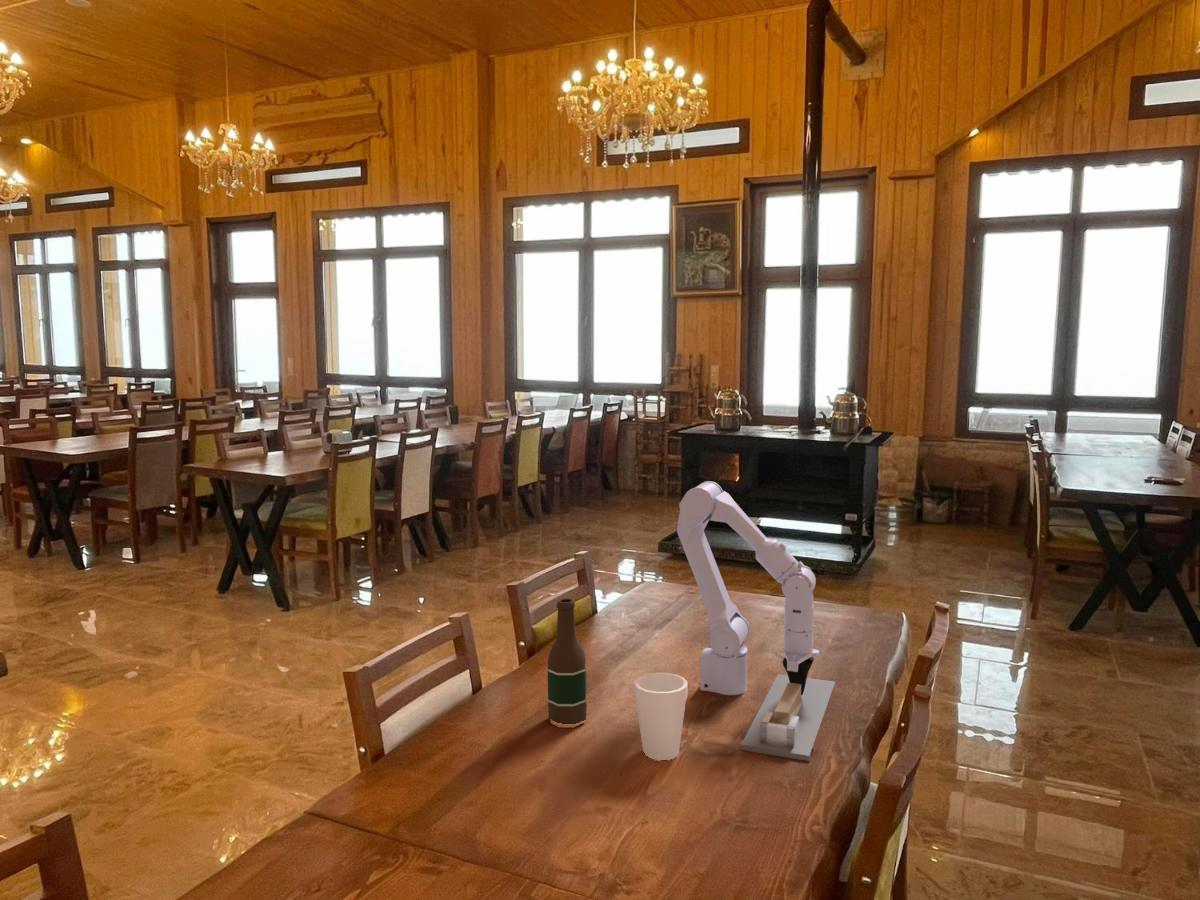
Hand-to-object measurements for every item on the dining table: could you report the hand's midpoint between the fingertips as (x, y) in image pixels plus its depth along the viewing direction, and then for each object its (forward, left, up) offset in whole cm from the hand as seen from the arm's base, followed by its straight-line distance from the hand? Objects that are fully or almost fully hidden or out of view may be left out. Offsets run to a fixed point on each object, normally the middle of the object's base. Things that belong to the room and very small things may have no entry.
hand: (797, 693), depth 172 cm
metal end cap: (0, -19, -1) cm, 19 cm away
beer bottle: (-40, -24, -2) cm, 47 cm away
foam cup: (-19, -30, -2) cm, 36 cm away
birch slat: (0, -11, -1) cm, 11 cm away
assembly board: (0, -6, -2) cm, 7 cm away
